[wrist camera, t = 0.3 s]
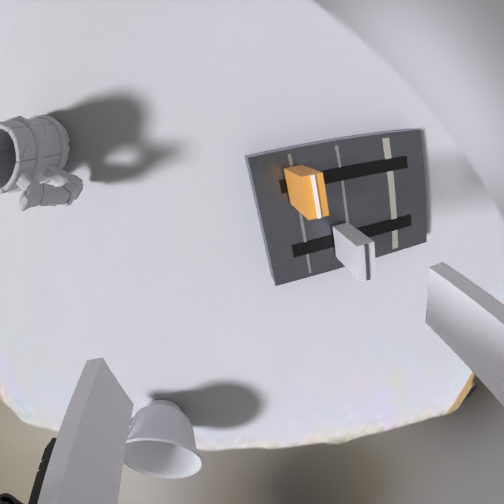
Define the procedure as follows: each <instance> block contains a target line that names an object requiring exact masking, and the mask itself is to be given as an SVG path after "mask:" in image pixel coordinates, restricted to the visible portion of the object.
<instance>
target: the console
mask: <svg viewBox="0 0 504 504" xmlns="http://www.w3.org/2000/svg"><path fill="white" fill-rule="evenodd" d="M245 159H246V164H247V168H248V172H249V177H250V181H251V185H252V190H253V194H254V199H255V203H256V207H257V212H258V216H259V221H260V225H261V230H262V234H263V239H264V243H265V248H266V252H267V257H268V262H269V266H270V271H271V275H272V278H273V280H274V283H275V285H276V286H277V285H281V284H285V283H288V282H292V281H296V280H299V279H303V278H307V277H310V276H314V275H317V274H321V273H325V272H328V271H332V270H335V269H339V268H342V267H345V266H344V265H343V264H342V263H341V262H340V261H339V259H338V258H337V257H336V251H335V243H334V235H333V227H332V226H336V225H339V224H343V223H347V222H348V223H349V224H351V225H352V226H354V227H355V228H356V229H358V230H359V231H361V232H362V233H363V234H365V235H366V236H367V237H369V238H370V239H372V240H373V241H374V245H375V258H376V257H379V256H383V255H386V254H389V253H392V252H396V251H399V250H402V249H405V248H408V247H412V246H415V245H418V244H421V243H424V242H426V195H425V178H424V165H423V154H422V145H421V137H420V130H418V129H401V130H392V131H383V132H375V133H368V134H360V135H353V136H347V137H340V138H334V139H328V140H322V141H316V142H311V143H305V144H300V145H295V146H290V147H285V148H280V149H275V150H270V151H265V152H261V153H256V154H252V155H248V156H245ZM297 165H304V166H307V167H309V168H312V169H315V170H317V171H320V172H323V178H324V184H325V190H326V196H327V203H328V210H329V215H328V216H324V217H322V218H320V219H318V218H316V219H312V220H308V219H307V218H306V217H305V216H303V215H302V214H301V213H300V212H299V211H298V210H297V209H296V208H295V207H294V206H292V205H291V204H290V198H289V193H288V188H287V183H286V178H285V173H284V168H287V167H292V166H297Z"/></svg>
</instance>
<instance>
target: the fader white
mask: <svg viewBox="0 0 504 504" xmlns="http://www.w3.org/2000/svg"><path fill="white" fill-rule="evenodd" d="M332 227H333V235H334V243H335V251H336V257H337V258H338V259H339V261H340V262H341V263H342V264H343V265H344V266H345V267H346V268H347V269H348V270H349V271H350V272H351V273H352V274H353V275H354V276H355V278H356V279H357V280H358V281H359V282H360V281H363V280H370V278H372V277H375V276H376V265H375V245H374V241H373V240H372V239H370V238H369V237H367V236H366V235H365V234H363V233H362V232H361V231H359V230H358V229H356V228H355V227H354V226H352V225H351V224H349V223H348V222H347V223H343V224H339V225H336V226H332Z"/></svg>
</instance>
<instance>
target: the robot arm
mask: <svg viewBox="0 0 504 504" xmlns="http://www.w3.org/2000/svg"><path fill="white" fill-rule="evenodd" d="M425 322H426V323H427V324H428V325H429V326H430V327H431V328H432V329H433V330H434V331H435V332H436V333H437V334H438V335H439V336H440V337H441V338H442V340H443V341H444V342H445V343H446V344H447V345H448V346H449V347H450V348H451V349H452V350H453V351H454V352H455V353H456V354H457V355H458V356H459V357H460V358H461V359H462V360H463V361H464V363H465V364H466V365H467V366H468V367H469V368H470V369H471V370H472V371H473V372H474V373H475V374H476V375H477V377H478V378H479V379H480V380H481V381H482V382H483V383H484V384H485V386H486V387H487V388H488V389H489V390H490V391H491V392H492V393H493V395H494V396H495V397H496V398H497V399H498V400H499V402H500V403H501V404H502V405H503V406H504V305H503V304H502V303H501V302H499V301H498V300H497V299H495V298H494V297H493V296H491V295H490V294H488V293H487V292H486V291H484V290H483V289H482V288H480V287H479V286H477V285H476V284H474V283H473V282H472V281H470V280H469V279H467V278H466V277H464V276H463V275H461V274H460V273H459V272H457V271H456V270H454V269H453V268H451V267H450V266H448V265H447V264H445V263H444V262H441V263H439V264H436V265H434V266H431V267H429V280H428V297H427V310H426V321H425ZM133 405H134V404H133V403H132V401H131V400H130V399H129V397H128V396H127V394H126V393H125V391H124V390H123V389H122V387H121V386H120V384H119V383H118V381H117V380H116V378H115V377H114V375H113V374H112V372H111V370H110V369H109V367H108V366H107V364H106V363H105V361H104V359H103V358H99V359H93V360H87V362H86V364H85V367H84V369H83V371H82V374H81V376H80V379H79V381H78V383H77V386H76V388H75V391H74V393H73V396H72V398H71V401H70V404H69V406H68V409H67V411H66V414H65V417H64V419H63V422H62V425H61V428H60V431H59V433H58V436H57V438H52V440H51V441H50V443H49V444H48V445H47V447H46V448H45V451H44V454H43V457H42V462H41V463H40V466H39V472H37V475H36V479H35V482H34V485H33V489H32V493H31V496H30V500H29V503H28V504H118V495H119V487H120V481H121V474H122V467H123V460H124V454H125V448H126V442H127V436H128V431H129V425H130V420H131V415H132V410H133ZM0 504H23V503H21V502H20V501H19V500H17V499H16V498H15V497H13V496H12V495H10V494H7V493H4V494H1V495H0Z"/></svg>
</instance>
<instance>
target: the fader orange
mask: <svg viewBox="0 0 504 504" xmlns="http://www.w3.org/2000/svg"><path fill="white" fill-rule="evenodd" d="M284 173H285V178H286V183H287V188H288V193H289V198H290V204H291V205H292V206H294V207H295V208H296V209H297V210H298V211H299V212H300V213H301V214H302V215H303V216H305V217H306V218H307V219H308V220H312V219H316V218H318V219H320V218H322V217H324V216H328V215H329V210H328V203H327V196H326V190H325V184H324V178H323V172H320V171H317V170H315V169H312V168H309V167H307V166H304V165H297V166H292V167H287V168H284Z"/></svg>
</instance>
